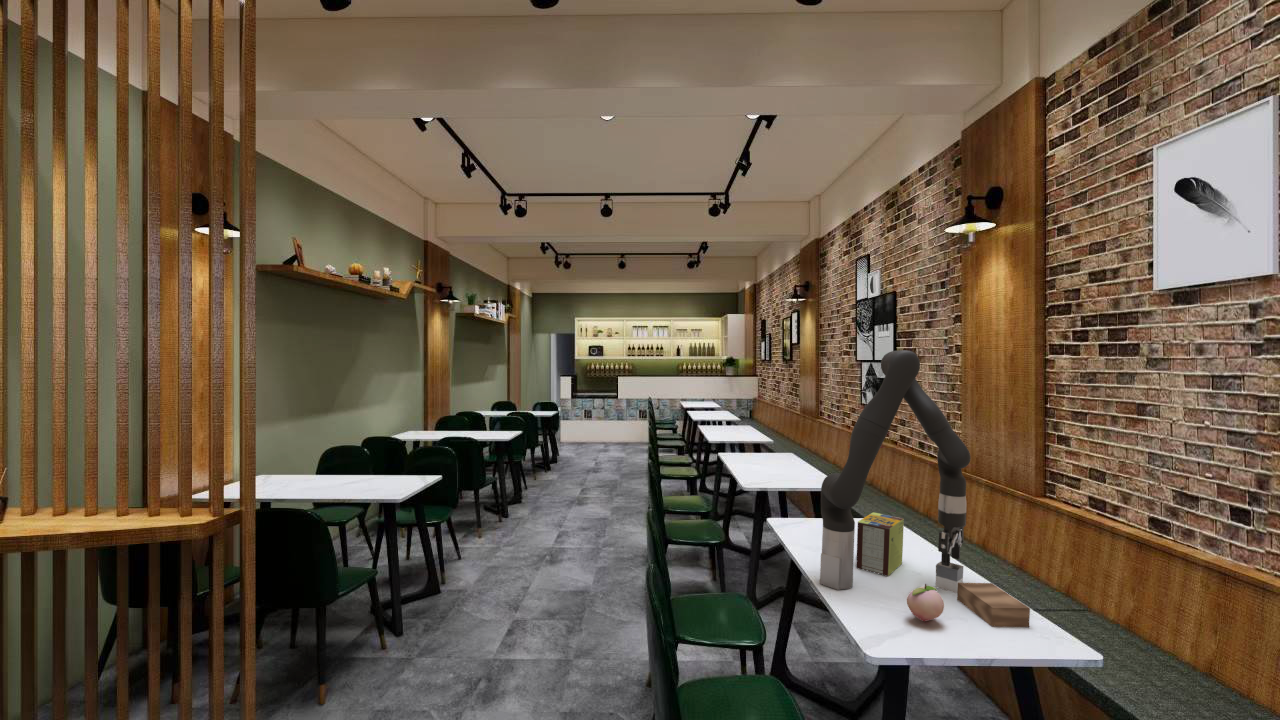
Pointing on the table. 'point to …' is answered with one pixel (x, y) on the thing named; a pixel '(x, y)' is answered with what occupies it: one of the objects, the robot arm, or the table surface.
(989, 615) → the walnut stand
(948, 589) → the housing
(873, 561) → the protein box
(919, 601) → the decorative fruit
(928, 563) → the table surface
